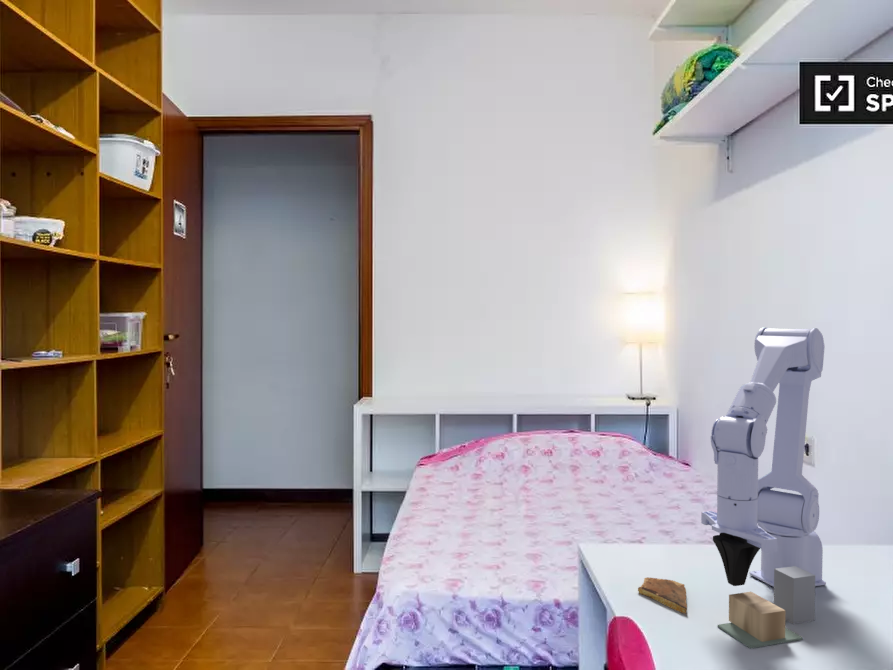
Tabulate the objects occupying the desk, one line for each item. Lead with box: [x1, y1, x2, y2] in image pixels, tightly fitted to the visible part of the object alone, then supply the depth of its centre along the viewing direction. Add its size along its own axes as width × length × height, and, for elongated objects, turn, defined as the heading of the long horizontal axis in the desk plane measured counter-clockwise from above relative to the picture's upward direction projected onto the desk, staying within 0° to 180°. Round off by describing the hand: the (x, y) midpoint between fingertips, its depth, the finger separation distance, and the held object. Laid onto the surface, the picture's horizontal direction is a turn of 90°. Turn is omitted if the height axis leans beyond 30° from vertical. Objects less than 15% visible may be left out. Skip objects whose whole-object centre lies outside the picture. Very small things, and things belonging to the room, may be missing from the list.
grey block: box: [773, 566, 816, 625], centre depth 107 cm, size 4×4×7 cm
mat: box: [717, 622, 804, 649], centre depth 102 cm, size 9×7×1 cm
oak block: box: [728, 591, 786, 642], centre depth 103 cm, size 4×4×7 cm
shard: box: [637, 577, 688, 615], centre depth 114 cm, size 11×8×2 cm
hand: (736, 583), depth 107 cm, fingers closed
